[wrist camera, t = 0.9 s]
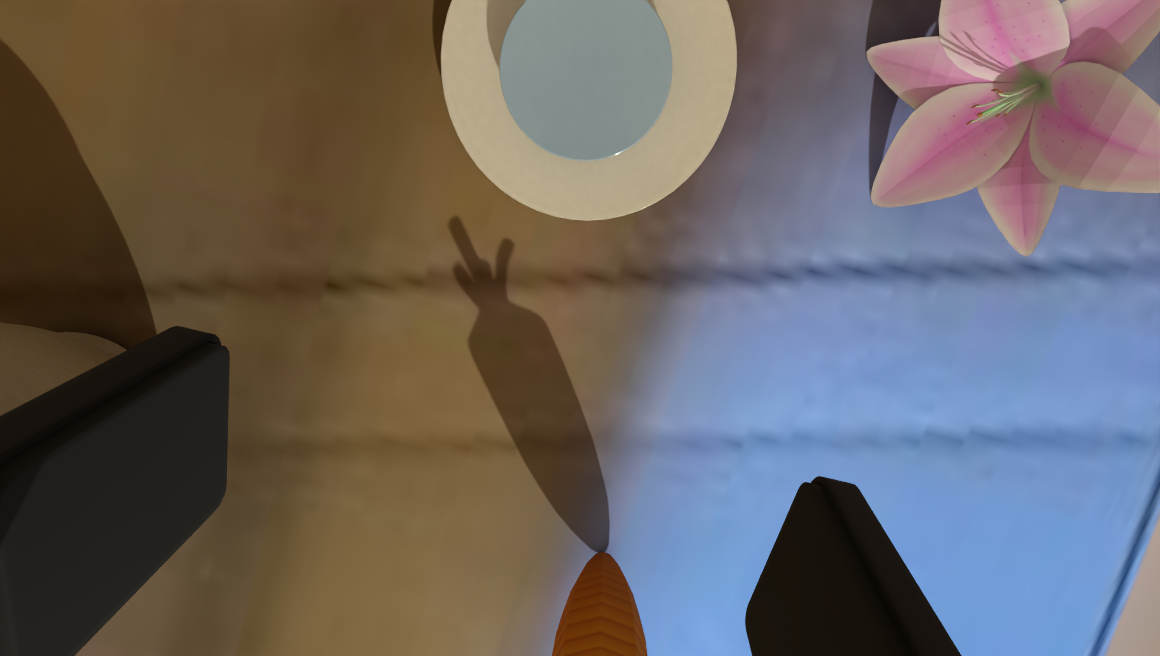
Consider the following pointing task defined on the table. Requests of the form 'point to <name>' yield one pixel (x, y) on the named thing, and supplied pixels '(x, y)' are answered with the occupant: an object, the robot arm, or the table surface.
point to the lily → (1021, 108)
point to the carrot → (600, 614)
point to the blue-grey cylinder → (585, 74)
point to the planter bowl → (45, 360)
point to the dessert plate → (608, 185)
